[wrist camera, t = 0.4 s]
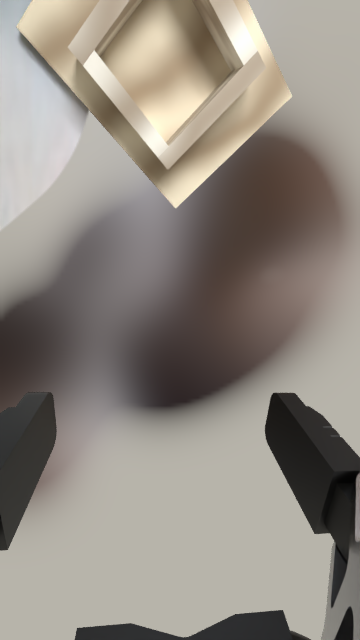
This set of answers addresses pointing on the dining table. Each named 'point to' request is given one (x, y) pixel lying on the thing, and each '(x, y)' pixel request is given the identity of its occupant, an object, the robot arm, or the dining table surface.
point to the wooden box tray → (164, 78)
